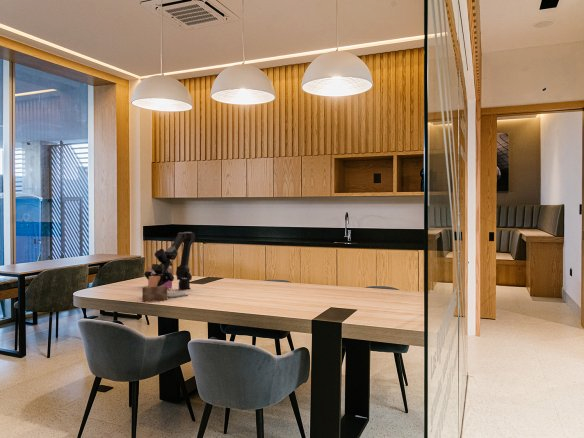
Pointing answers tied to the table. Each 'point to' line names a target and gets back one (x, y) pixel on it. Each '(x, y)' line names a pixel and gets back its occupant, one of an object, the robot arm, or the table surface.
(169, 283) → the gum box
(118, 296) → the table surface
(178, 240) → the robot arm
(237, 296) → the table surface
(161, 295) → the walnut screen
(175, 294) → the grey mat
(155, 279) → the letter block
